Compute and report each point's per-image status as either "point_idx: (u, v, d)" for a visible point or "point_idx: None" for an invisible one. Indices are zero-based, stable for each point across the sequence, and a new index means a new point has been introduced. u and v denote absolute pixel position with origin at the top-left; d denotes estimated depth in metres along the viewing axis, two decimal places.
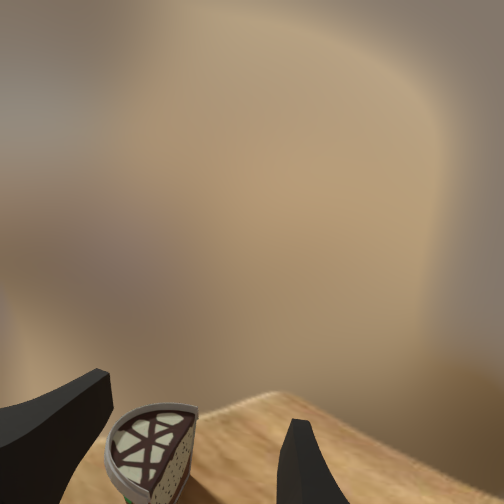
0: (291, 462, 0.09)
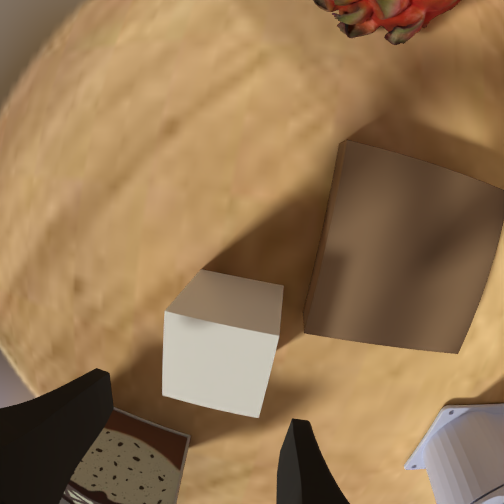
0: (291, 462, 0.09)
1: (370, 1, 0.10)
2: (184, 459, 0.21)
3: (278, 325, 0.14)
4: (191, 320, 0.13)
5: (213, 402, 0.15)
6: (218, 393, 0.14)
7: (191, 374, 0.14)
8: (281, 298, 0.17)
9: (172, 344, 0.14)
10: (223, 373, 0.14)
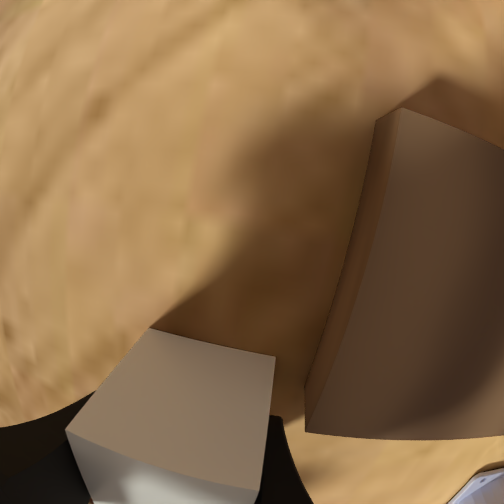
0: None
1: None
2: None
3: (259, 462, 0.07)
4: (107, 451, 0.06)
5: None
6: None
7: None
8: (270, 389, 0.10)
9: (90, 469, 0.07)
10: None
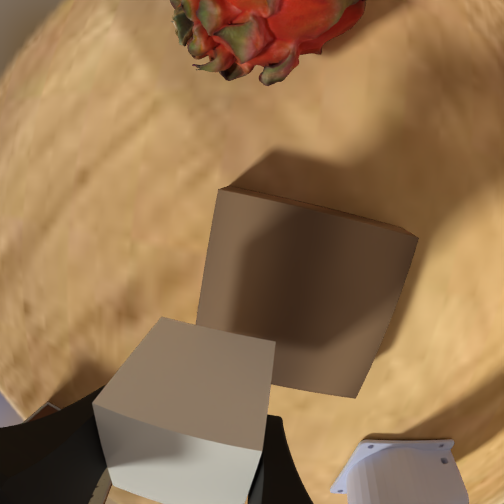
0: None
1: (226, 45, 0.11)
2: None
3: (262, 428, 0.08)
4: (129, 420, 0.08)
5: (177, 502, 0.09)
6: (181, 496, 0.09)
7: (142, 474, 0.09)
8: (270, 369, 0.11)
9: (111, 441, 0.08)
10: (184, 480, 0.08)
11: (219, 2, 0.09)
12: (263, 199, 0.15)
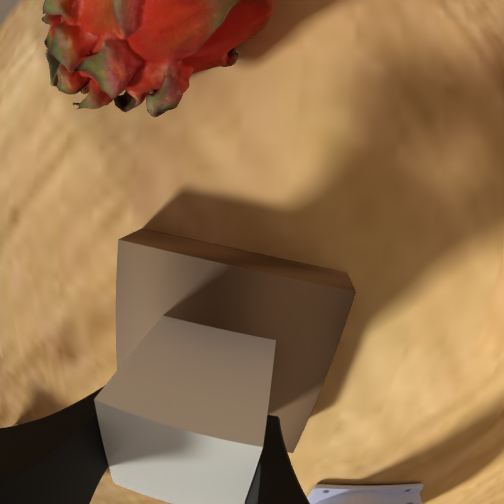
0: None
1: (94, 79, 0.09)
2: None
3: (263, 424, 0.08)
4: (131, 416, 0.08)
5: (178, 500, 0.09)
6: (182, 494, 0.09)
7: (144, 472, 0.09)
8: (271, 366, 0.11)
9: (112, 438, 0.08)
10: (185, 477, 0.08)
11: (71, 33, 0.07)
12: (164, 250, 0.13)
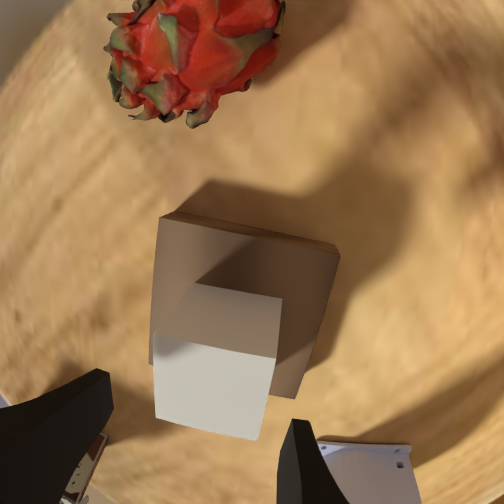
0: (291, 462, 0.09)
1: (150, 99, 0.13)
2: (98, 453, 0.24)
3: (275, 346, 0.13)
4: (181, 342, 0.12)
5: (209, 425, 0.13)
6: (213, 417, 0.13)
7: (184, 397, 0.13)
8: (279, 314, 0.16)
9: (163, 367, 0.13)
10: (217, 397, 0.13)
11: (136, 66, 0.11)
12: (196, 225, 0.17)
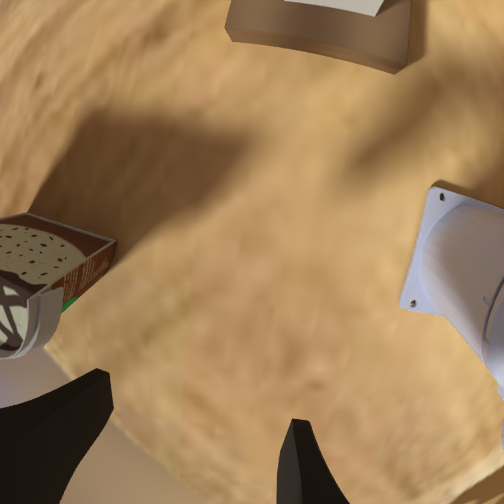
0: (291, 462, 0.09)
1: None
2: (98, 251, 0.18)
3: None
4: None
5: None
6: None
7: None
8: None
9: None
10: None
11: None
12: None
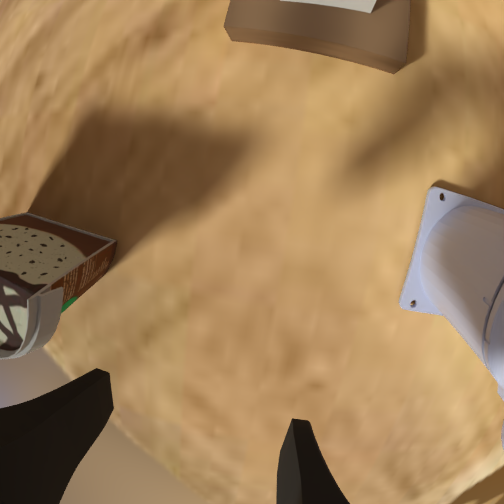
0: (291, 462, 0.09)
1: None
2: (98, 251, 0.18)
3: None
4: None
5: None
6: None
7: None
8: None
9: None
10: None
11: None
12: None
